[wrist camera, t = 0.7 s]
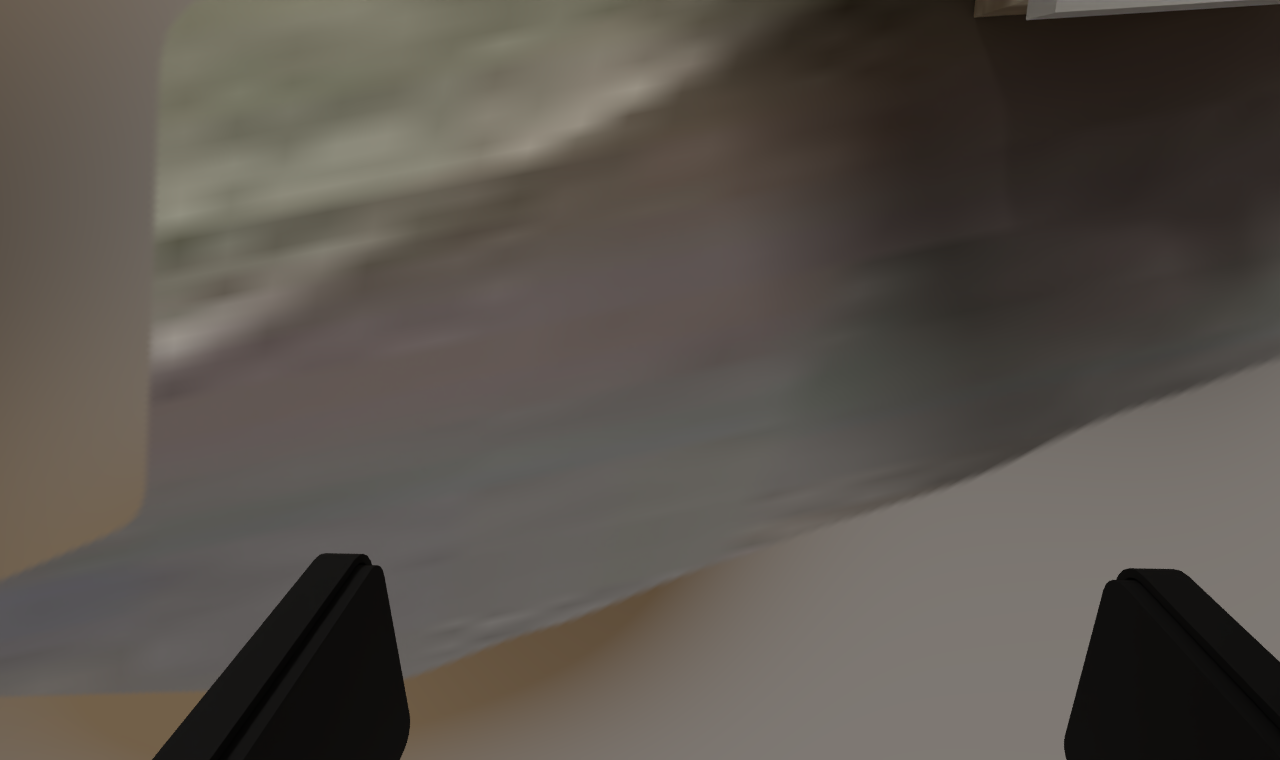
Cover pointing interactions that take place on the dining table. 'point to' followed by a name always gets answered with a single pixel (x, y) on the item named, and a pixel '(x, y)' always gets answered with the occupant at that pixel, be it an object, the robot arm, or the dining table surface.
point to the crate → (1000, 7)
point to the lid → (1125, 6)
